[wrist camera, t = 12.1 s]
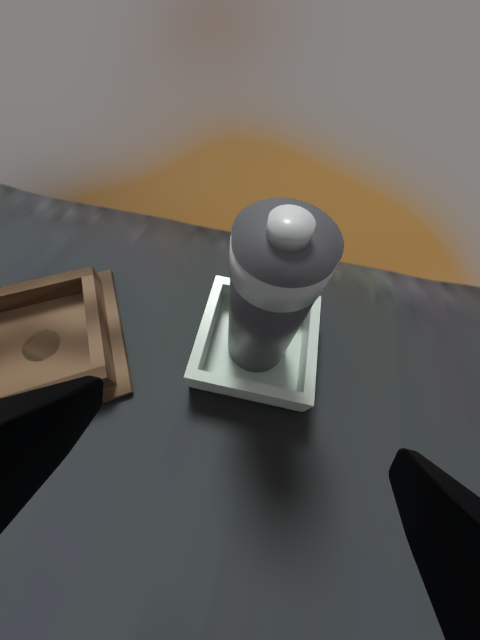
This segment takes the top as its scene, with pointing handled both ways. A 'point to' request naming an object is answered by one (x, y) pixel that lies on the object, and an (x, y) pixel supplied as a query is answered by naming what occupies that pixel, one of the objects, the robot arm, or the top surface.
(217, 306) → the white square tray
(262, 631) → the top surface
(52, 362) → the brown wooden tray
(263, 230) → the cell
